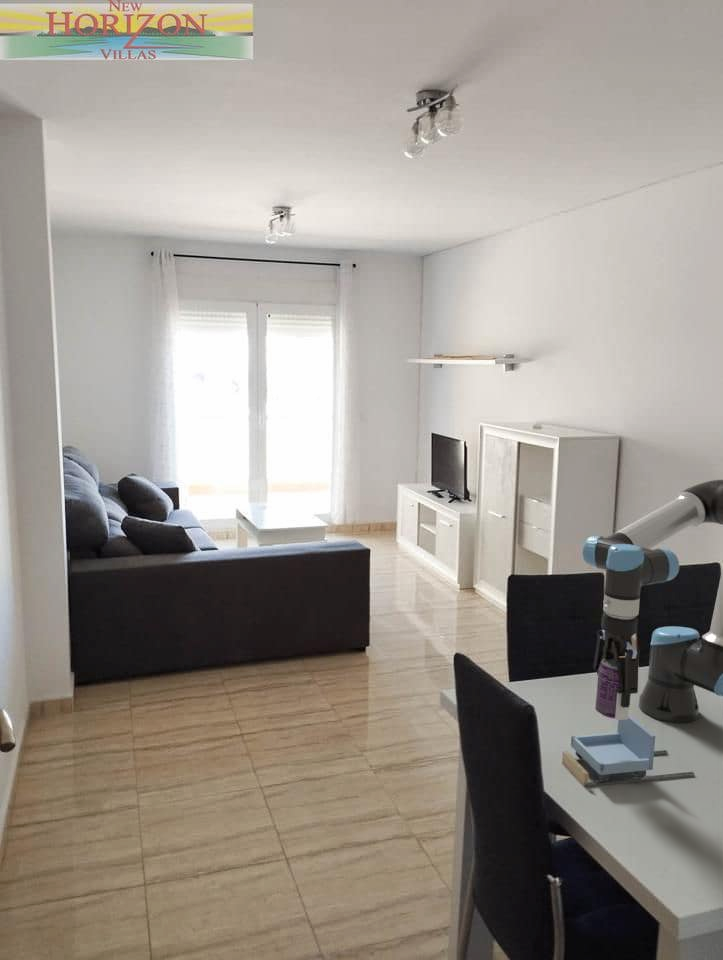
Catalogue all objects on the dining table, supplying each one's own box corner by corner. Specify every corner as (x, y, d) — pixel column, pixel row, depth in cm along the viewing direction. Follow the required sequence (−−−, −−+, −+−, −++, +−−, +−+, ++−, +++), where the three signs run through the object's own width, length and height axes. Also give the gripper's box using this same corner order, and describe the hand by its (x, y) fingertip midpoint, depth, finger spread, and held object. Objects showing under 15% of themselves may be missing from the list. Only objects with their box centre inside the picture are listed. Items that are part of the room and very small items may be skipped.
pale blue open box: (619, 750, 182) (622, 710, 180) (651, 779, 169) (655, 735, 168) (570, 755, 179) (573, 713, 177) (599, 785, 166) (602, 740, 165)
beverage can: (625, 708, 175) (630, 659, 173) (630, 722, 168) (634, 671, 166) (593, 705, 176) (597, 655, 174) (596, 718, 169) (601, 667, 167)
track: (665, 752, 184) (666, 740, 183) (694, 775, 173) (695, 763, 173) (561, 762, 177) (562, 750, 177) (584, 787, 167) (585, 774, 166)
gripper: (582, 601, 177) (574, 693, 181) (630, 630, 158) (621, 733, 161) (611, 600, 179) (603, 691, 182) (662, 628, 160) (652, 730, 163)
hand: (611, 711), depth 172 cm, fingers closed on beverage can, 7 cm apart
